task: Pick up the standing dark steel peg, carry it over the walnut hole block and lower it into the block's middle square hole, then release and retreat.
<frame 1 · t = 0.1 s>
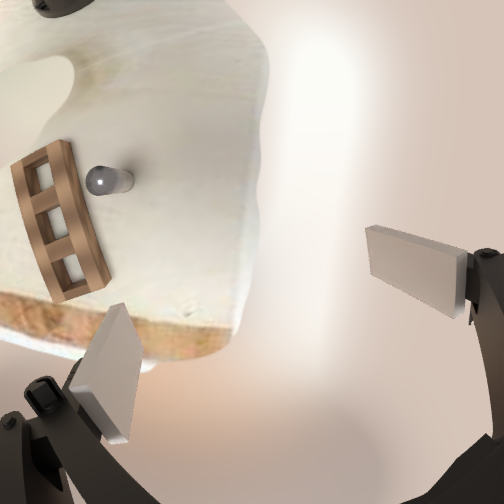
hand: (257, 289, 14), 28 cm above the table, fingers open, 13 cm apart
hole block: (62, 221, 36), on the table
peg: (123, 181, 37), on the table
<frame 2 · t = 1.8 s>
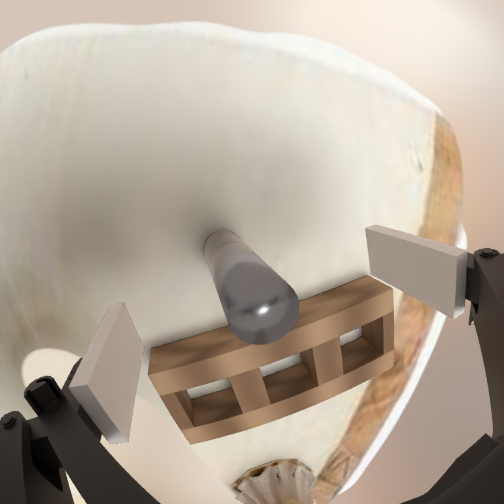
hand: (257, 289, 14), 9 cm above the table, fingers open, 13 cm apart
figurine: (273, 479, 32), on the table
hole block: (276, 353, 26), on the table
peg: (223, 249, 23), on the table
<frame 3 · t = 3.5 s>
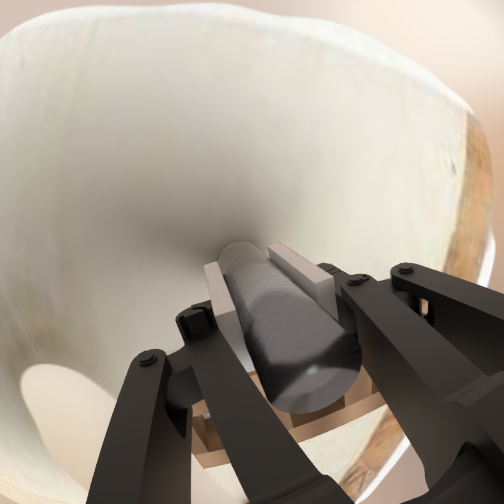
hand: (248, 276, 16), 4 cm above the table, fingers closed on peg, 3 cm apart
hole block: (299, 371, 23), on the table
peg: (240, 263, 19), point 1 cm above the table, touching gripper
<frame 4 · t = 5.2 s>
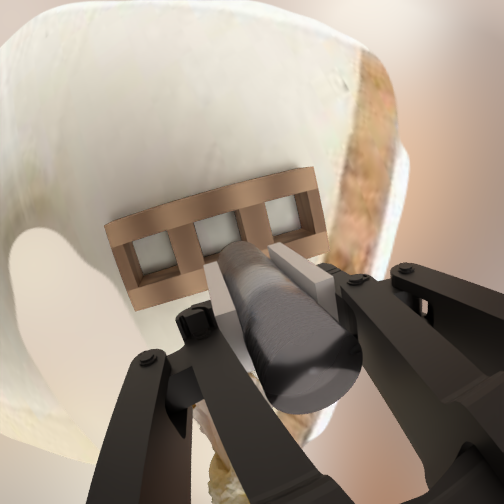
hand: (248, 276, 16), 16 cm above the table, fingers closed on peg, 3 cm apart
figurine: (231, 400, 37), on the table
hole block: (217, 231, 32), on the table
peg: (240, 264, 19), point 13 cm above the table, touching gripper
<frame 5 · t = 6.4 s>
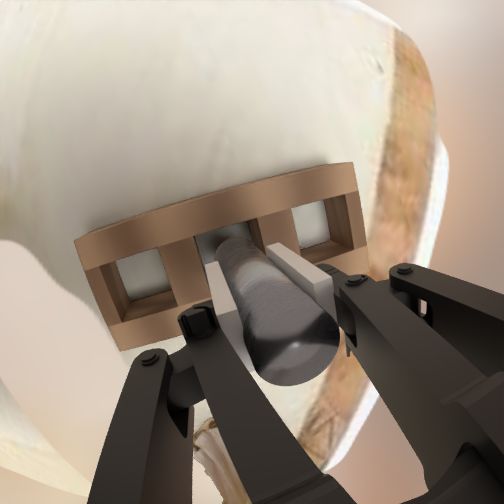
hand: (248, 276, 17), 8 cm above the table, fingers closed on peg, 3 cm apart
figurine: (240, 439, 30), on the table
hole block: (226, 246, 24), on the table
peg: (236, 258, 20), point 4 cm above the table, touching gripper
when the fingers open (6 cm above the table, at t = 7.1 s): peg drops 1 cm, resting in hole block.
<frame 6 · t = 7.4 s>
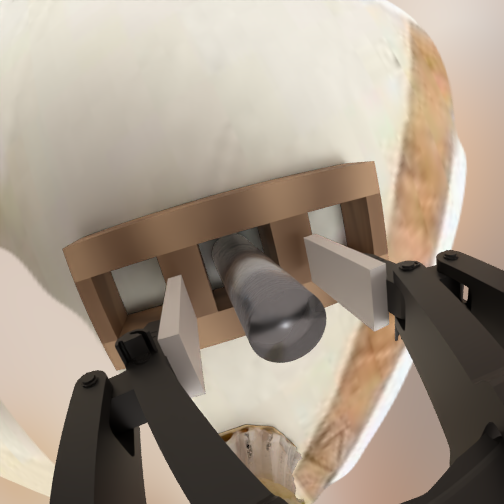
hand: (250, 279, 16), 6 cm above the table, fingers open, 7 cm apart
figurine: (246, 454, 27), on the table
hole block: (233, 253, 22), on the table
peg: (232, 253, 22), resting in hole block
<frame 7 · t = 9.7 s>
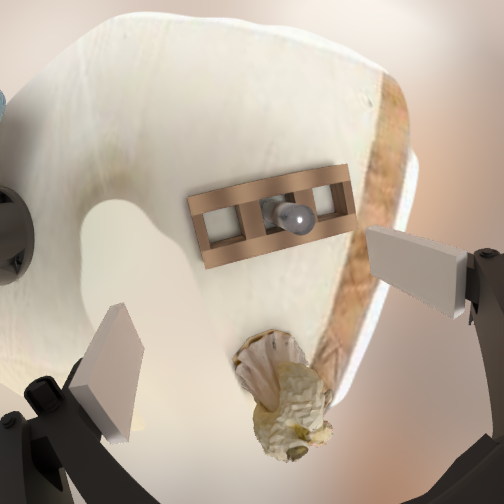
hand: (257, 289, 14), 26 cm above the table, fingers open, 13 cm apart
figurine: (269, 360, 45), on the table
hole block: (272, 210, 40), on the table
peg: (271, 210, 40), resting in hole block
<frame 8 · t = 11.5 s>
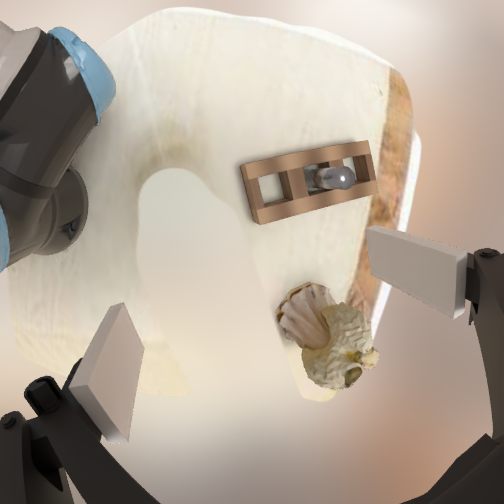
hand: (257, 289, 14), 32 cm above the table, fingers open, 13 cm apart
figurine: (307, 312, 52), on the table
hole block: (308, 178, 47), on the table
peg: (308, 178, 47), resting in hole block
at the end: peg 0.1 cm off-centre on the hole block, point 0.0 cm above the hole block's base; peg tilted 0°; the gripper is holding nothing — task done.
